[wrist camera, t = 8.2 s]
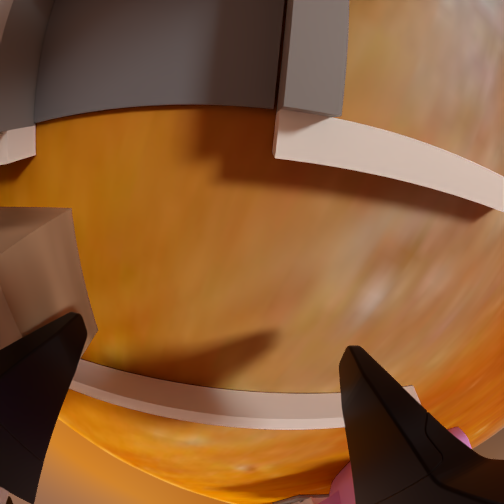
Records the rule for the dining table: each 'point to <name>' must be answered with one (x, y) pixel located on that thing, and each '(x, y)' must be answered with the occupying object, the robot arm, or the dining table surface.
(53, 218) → the block
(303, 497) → the skyscraper
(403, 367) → the dining table surface
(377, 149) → the walled track with bay
